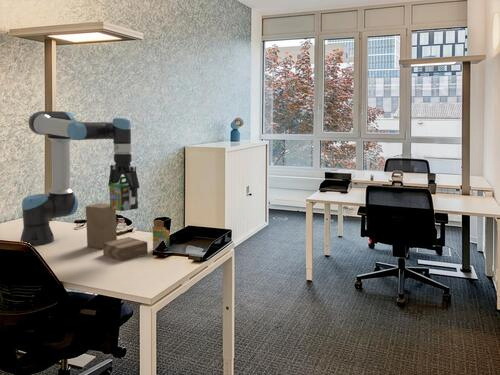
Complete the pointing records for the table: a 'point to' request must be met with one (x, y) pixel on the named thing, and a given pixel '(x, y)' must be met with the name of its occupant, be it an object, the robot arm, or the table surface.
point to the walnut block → (125, 248)
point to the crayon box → (160, 236)
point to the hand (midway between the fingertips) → (124, 203)
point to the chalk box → (121, 196)
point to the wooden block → (100, 225)
